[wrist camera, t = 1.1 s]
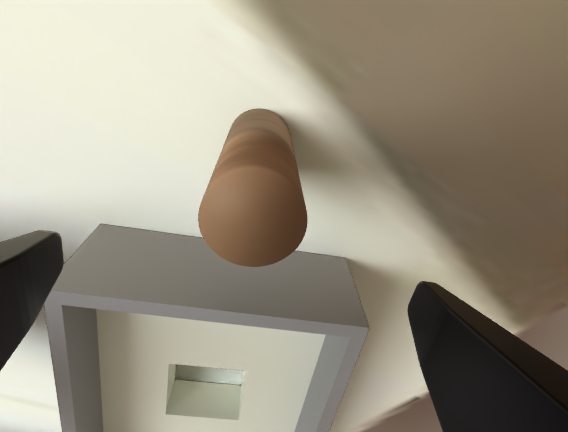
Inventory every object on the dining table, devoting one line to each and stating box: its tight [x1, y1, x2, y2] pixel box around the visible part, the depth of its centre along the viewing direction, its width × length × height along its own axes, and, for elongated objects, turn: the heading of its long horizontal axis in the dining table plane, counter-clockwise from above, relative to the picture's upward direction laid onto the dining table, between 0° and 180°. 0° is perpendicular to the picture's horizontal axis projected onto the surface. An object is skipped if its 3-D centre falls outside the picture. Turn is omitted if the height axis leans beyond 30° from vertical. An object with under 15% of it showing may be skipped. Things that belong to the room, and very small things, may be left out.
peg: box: [198, 109, 307, 267], centre depth 16 cm, size 4×4×10 cm
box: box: [44, 224, 369, 432], centre depth 25 cm, size 16×22×6 cm
